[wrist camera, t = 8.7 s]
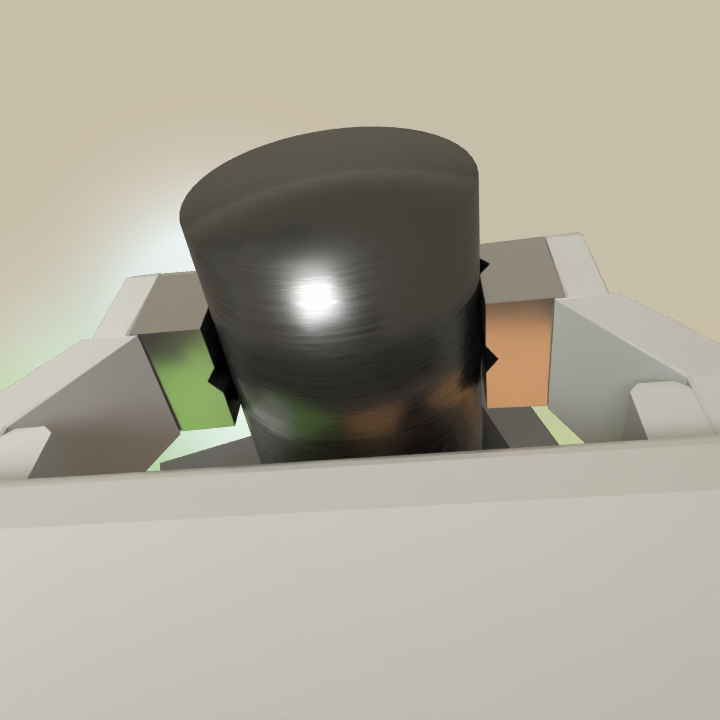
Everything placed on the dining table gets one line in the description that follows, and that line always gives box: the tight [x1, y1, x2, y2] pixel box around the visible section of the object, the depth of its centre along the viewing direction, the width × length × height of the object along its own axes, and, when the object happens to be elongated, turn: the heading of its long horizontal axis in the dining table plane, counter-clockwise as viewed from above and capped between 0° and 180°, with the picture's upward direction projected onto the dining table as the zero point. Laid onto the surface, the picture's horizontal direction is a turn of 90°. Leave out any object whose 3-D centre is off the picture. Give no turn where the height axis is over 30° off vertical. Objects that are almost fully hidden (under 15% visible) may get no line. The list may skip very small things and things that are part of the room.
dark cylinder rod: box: [180, 127, 483, 464], centre depth 13 cm, size 6×6×17 cm
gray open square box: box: [160, 380, 559, 470], centre depth 18 cm, size 11×9×16 cm
